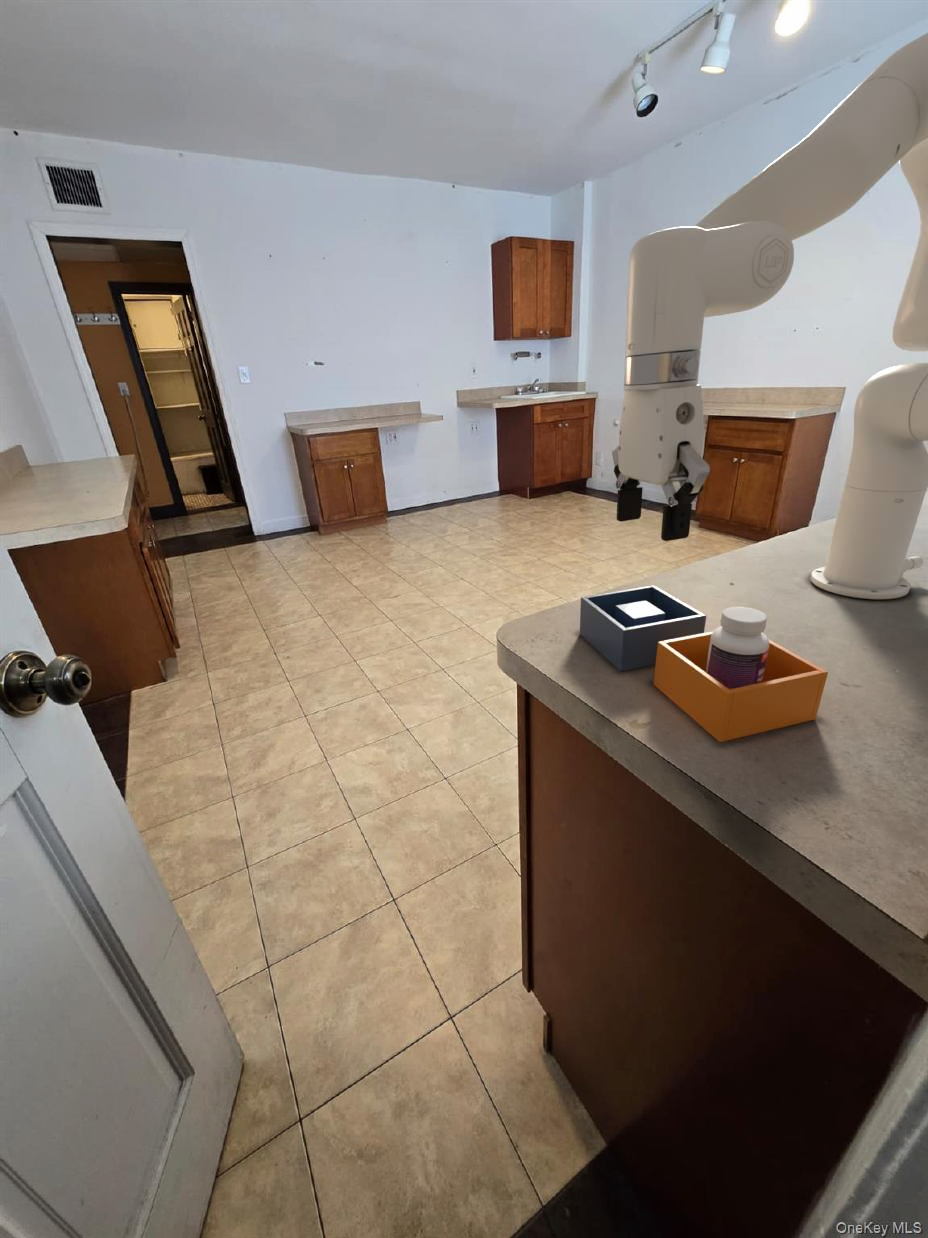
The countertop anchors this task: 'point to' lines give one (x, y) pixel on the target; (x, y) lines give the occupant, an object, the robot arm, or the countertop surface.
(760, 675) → the pill bottle
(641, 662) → the blue bin
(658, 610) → the blue block
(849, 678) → the countertop surface
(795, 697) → the amber bin
